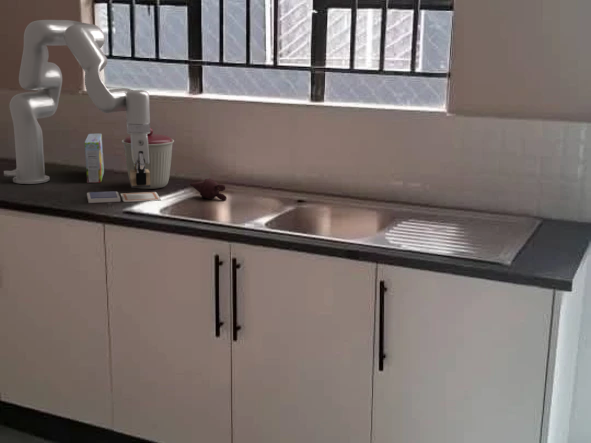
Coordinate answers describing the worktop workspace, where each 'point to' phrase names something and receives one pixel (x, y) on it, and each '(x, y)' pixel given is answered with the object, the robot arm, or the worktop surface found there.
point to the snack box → (94, 158)
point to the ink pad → (103, 197)
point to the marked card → (139, 196)
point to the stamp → (133, 179)
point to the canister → (153, 158)
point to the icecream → (209, 189)
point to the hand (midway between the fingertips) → (140, 182)
